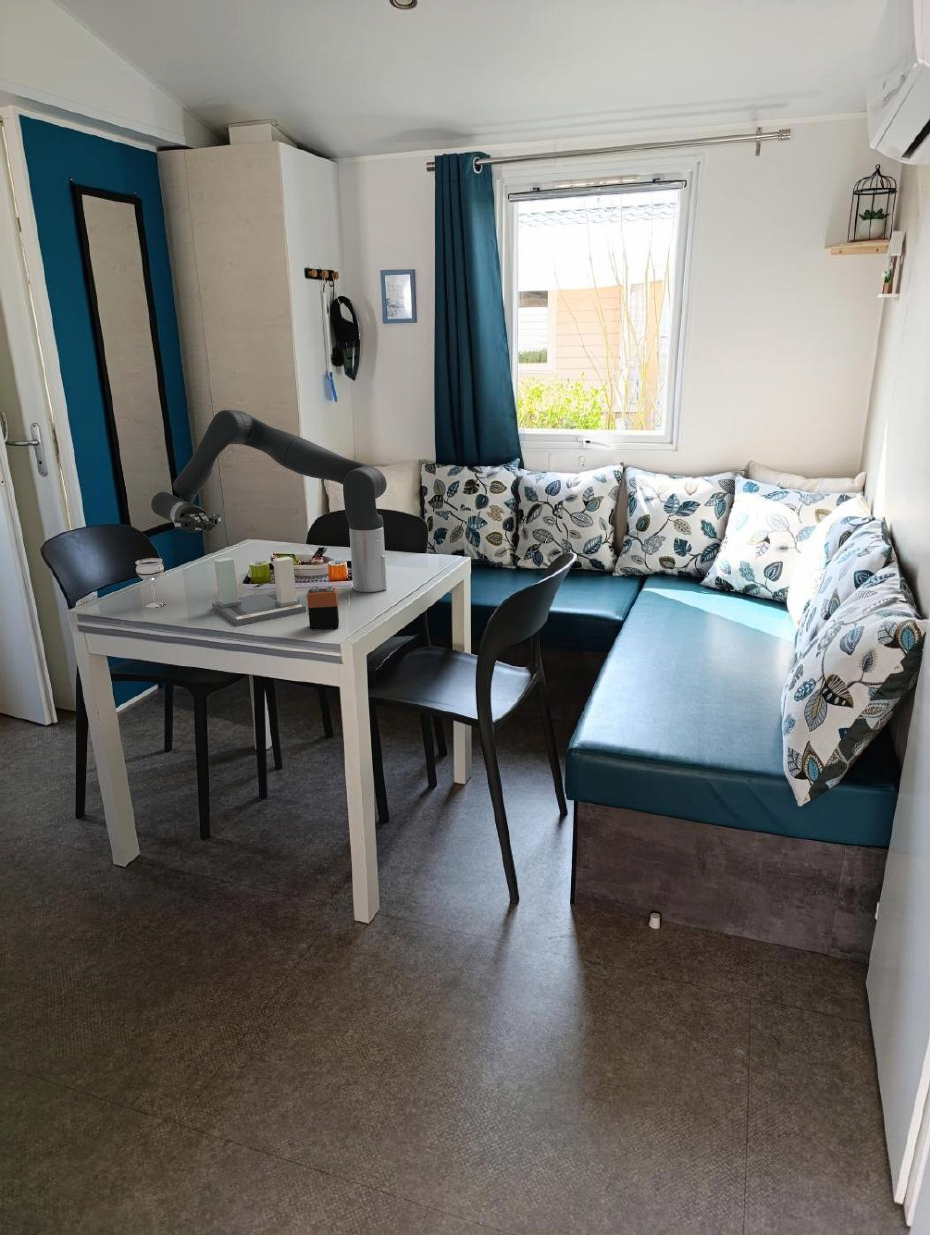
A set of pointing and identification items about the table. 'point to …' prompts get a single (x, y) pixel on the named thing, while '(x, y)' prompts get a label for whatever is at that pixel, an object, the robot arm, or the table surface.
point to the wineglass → (150, 573)
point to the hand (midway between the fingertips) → (208, 527)
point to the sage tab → (226, 582)
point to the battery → (323, 608)
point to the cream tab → (285, 582)
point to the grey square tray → (257, 609)
